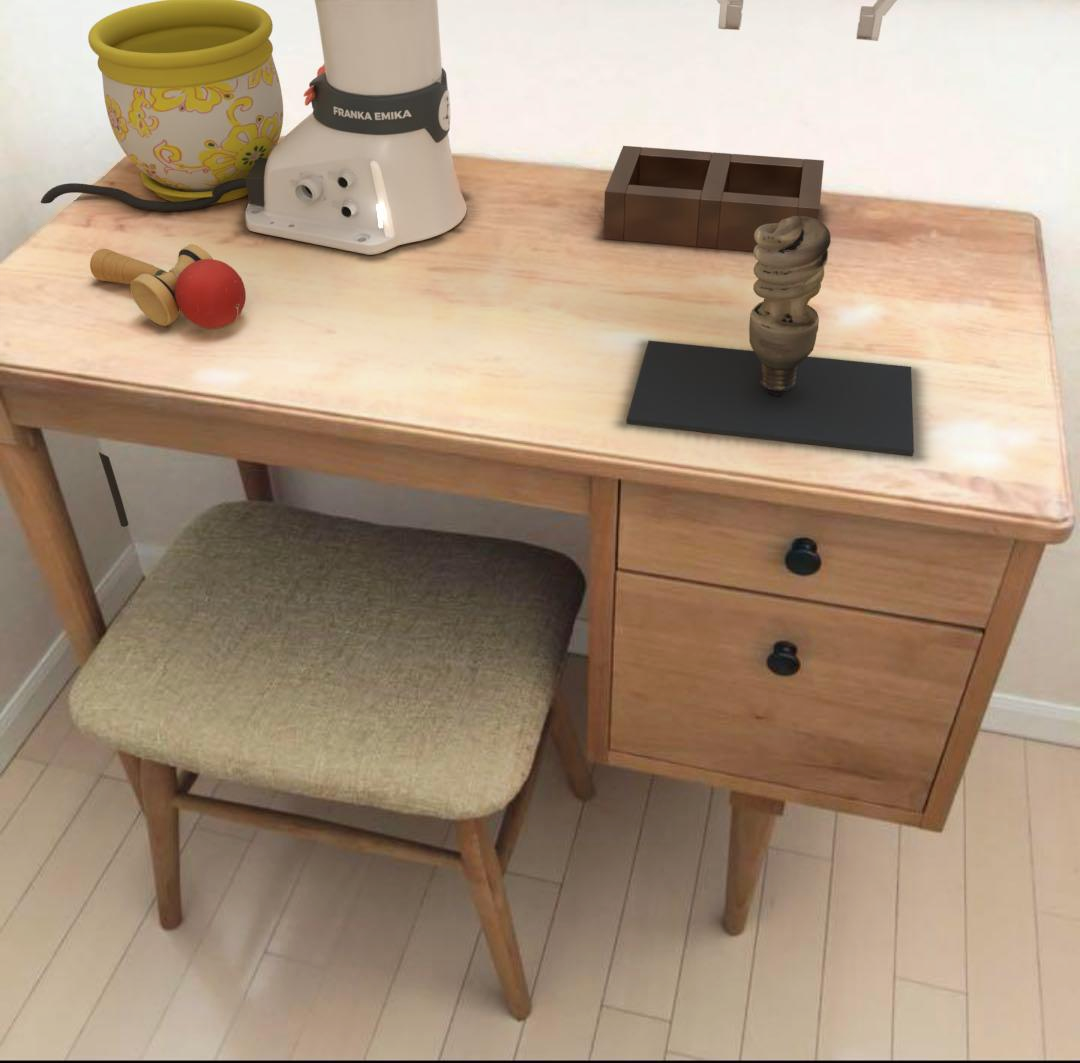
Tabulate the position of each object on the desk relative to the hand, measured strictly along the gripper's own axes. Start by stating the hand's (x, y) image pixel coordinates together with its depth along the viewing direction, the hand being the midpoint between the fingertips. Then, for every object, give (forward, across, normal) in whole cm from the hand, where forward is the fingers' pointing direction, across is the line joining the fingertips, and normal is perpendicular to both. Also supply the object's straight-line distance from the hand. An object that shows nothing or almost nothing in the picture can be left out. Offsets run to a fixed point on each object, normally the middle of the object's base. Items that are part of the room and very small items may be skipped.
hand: (797, 32), depth 84 cm
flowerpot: (+29, +61, -26) cm, 72 cm away
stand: (+28, +6, -26) cm, 39 cm away
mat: (+27, -2, +4) cm, 28 cm away
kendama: (+29, +53, 0) cm, 60 cm away
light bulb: (+27, -2, +4) cm, 27 cm away
